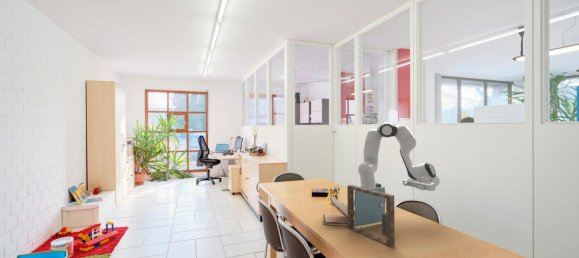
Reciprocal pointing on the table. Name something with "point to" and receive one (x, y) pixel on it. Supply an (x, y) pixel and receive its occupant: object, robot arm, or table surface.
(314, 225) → the table surface
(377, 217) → the door
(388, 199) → the door frame
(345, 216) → the case
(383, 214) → the dark blue-gray block
